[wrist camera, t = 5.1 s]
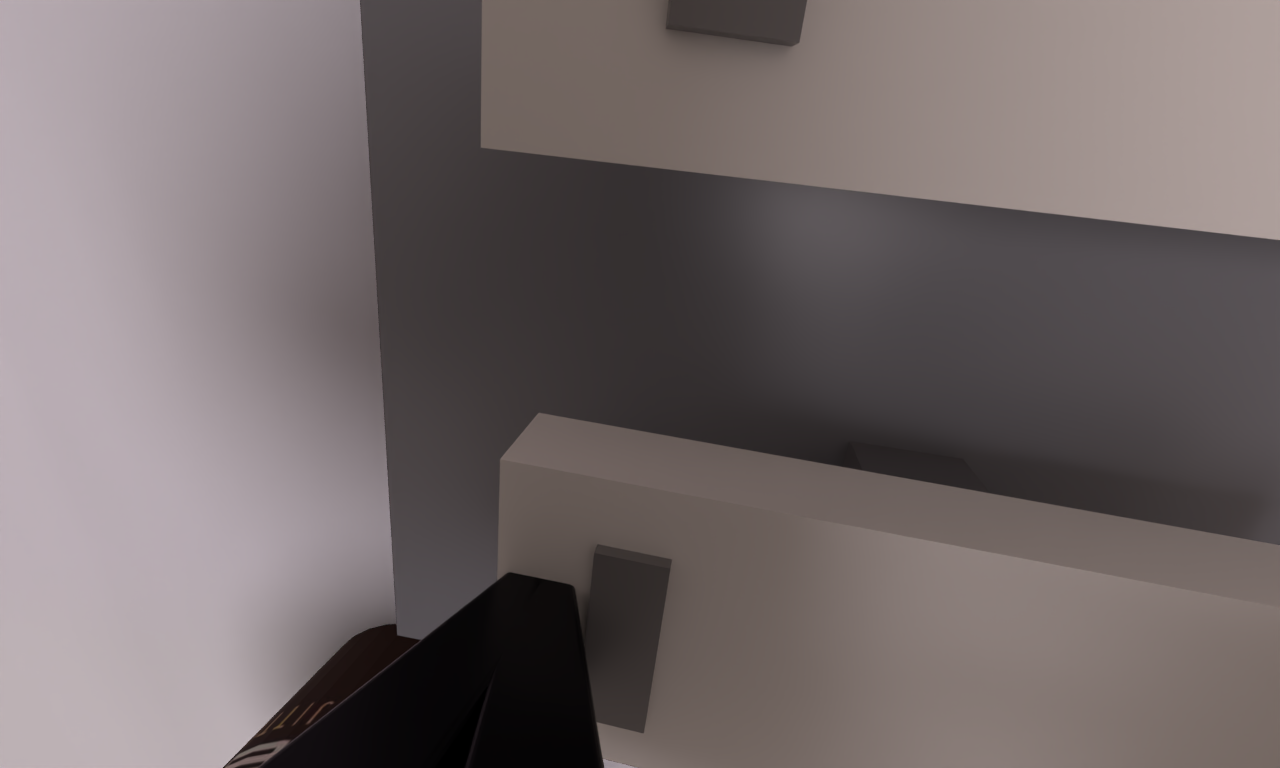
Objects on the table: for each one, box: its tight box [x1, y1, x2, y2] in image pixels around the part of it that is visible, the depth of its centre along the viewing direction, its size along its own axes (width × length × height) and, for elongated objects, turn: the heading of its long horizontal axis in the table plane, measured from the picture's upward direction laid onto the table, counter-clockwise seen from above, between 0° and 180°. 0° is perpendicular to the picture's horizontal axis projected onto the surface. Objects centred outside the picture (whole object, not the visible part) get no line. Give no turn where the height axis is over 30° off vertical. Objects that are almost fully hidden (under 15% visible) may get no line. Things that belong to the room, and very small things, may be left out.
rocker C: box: [497, 413, 1280, 768], centre depth 7 cm, size 10×4×1 cm, turn 83°
